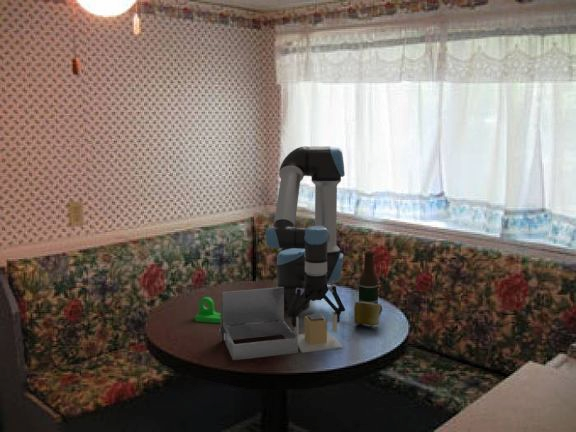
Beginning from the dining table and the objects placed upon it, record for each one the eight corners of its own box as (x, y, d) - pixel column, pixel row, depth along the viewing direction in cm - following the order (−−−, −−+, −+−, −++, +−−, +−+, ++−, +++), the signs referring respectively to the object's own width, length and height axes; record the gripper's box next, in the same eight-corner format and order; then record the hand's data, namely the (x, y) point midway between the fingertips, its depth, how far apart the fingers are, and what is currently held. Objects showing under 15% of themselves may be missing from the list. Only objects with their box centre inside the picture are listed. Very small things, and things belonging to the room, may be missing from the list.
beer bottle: (355, 312, 226) (356, 253, 222) (360, 306, 233) (361, 248, 229) (375, 315, 223) (376, 254, 219) (379, 308, 230) (381, 250, 226)
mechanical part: (195, 321, 218) (194, 301, 216) (201, 316, 223) (200, 296, 222) (224, 324, 215) (224, 303, 213) (230, 318, 220) (230, 298, 219)
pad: (328, 332, 205) (328, 331, 205) (342, 348, 192) (342, 346, 192) (290, 337, 201) (290, 335, 201) (301, 352, 188) (301, 351, 188)
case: (283, 332, 205) (283, 286, 203) (297, 352, 188) (297, 302, 185) (219, 339, 199) (217, 292, 197) (228, 361, 182) (226, 309, 179)
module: (321, 336, 200) (321, 312, 199) (326, 342, 195) (326, 318, 193) (304, 338, 199) (304, 314, 197) (309, 344, 193) (309, 320, 191)
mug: (364, 322, 202) (364, 295, 206) (347, 327, 211) (347, 300, 215) (392, 327, 208) (391, 300, 212) (375, 332, 216) (374, 305, 220)
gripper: (346, 267, 199) (346, 325, 203) (276, 272, 193) (277, 333, 196) (355, 273, 192) (354, 333, 196) (282, 278, 186) (283, 341, 189)
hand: (315, 333), depth 196 cm, fingers open, 13 cm apart
